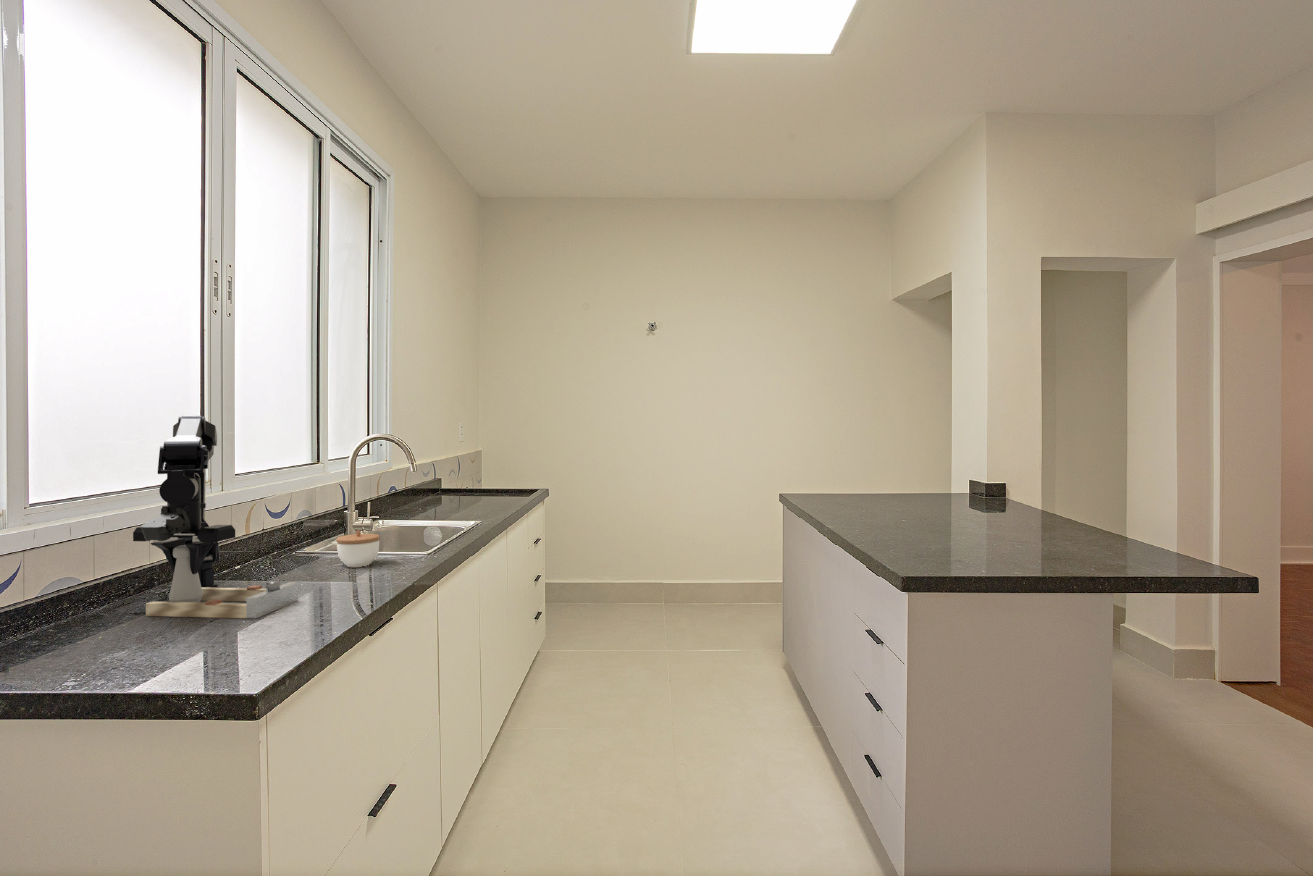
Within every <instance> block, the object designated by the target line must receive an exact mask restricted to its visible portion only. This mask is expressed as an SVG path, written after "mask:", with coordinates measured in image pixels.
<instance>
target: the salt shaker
mask: <svg viewBox="0 0 1313 876" xmlns="http://www.w3.org/2000/svg"><path fill="white" fill-rule="evenodd" d="M173 557H174V558H177V560H176V565H175V570H174V573H173V576H172V581H171V586H170V590H169V594H168V599H169V602H202V601H201V598H202V596H203V592H202V588H201V583H200V579H199V574H198V572H197V574H192V572H191V568H190V550H189V549H188V548H187V547H186V545H181V546H177V547H175V548H174V549H173Z"/></svg>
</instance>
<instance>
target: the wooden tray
mask: <svg viewBox="0 0 1313 876" xmlns="http://www.w3.org/2000/svg"><path fill="white" fill-rule="evenodd" d="M265 583H266V585H265V586H266V588H263V585H258V584H257V585H256V584H254V585H250V586H247V587H212V588H211V587H201V588H202V592H203V596H202V598H201V601H200V602H170V601H149V602H146V603H145V617H179V618H180V617H182V618H183V617H184V618H186V617H187V618H221V619H222V618H224V619H226V618H230V619H231V618H232V619H257V618H260V617H263V616H265V615H267V614H269V613H272V612H274V611H277V610H279V609H281V608H284V607H287V606H289V605H292V604H293V603H295V602H296V603H297V602H298V601H299V582H297V581H289V582H286V583H283V584H281V582H280V580H270V581H267V582H265ZM202 601H205V602H202ZM240 602H241V603H240ZM242 602H245V603H242Z"/></svg>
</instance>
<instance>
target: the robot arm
mask: <svg viewBox="0 0 1313 876" xmlns="http://www.w3.org/2000/svg"><path fill="white" fill-rule="evenodd" d="M217 446H218V433H217V428H216V425H215V424H212V423H211V422H210V421H208V420H206V417H205V416H202V415H181V416H178V419H177V422H176V423H175V424H174V425H173V427H172V437H167V438H166V439H165V440H164V442H163V445H161V446H159V453H158V463H157V474H158V475H166V479H164V481H163V482H161V485H160V487H159V491H158V492H159V496H160V498H161V499H162V500H163V501H164V502H166V503H167V504H166V505H162V506H161V508H160V514H159V515H158V516H155V517H153V518H152V519H150V520H148V521H146V522H144V523H142V524H141V525H140V526H138V527H136V528H135V529H134V531H133V533H132V542H150V541H153V542H150V545H151V546H154V547H156V548H158V549H160V551H162V552H163V554H164V556H165V557H166V560H167V562H168V564H169V567H170V568H171V570H172V573H173V574H174V570H175V565H176V560H177V558H174V557H173V549H174V548H175V547H177V546H181V545H186V547H187V548H188V549H189V550H190V568H191V572H192V574H197V572H198V574H199V579H200V583H201V587H211V588H216V587H218V586H219V585H218V583H215V580H214V579H215V578H214V577H215V573H214V567H213V563H216V562H220V557H221V556H220V555H221V554H220V553H221V552H220V545H219V542H223V541H226V540H230V539H235V538H236V528H235V527H234V525H232V524H215V525H210V524H208V522H206V519H205V518H206V507H207V506H206V505H207V504H206V473H207V469H208V470H209V461H210V460H211V458H212V457H213V456H214V454H215V453H214V451H215V450H214V449H215V447H217Z"/></svg>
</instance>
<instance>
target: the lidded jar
mask: <svg viewBox="0 0 1313 876" xmlns="http://www.w3.org/2000/svg"><path fill="white" fill-rule="evenodd" d="M380 539H381V538H380V535H379V534H377V533H361V530H356V531H355V533H353V534H348V535H347V534H345V535H342V536H338V537H336V550H337V554H338V557H339V559H340V561H341V562H342V563H343V564H344V565H346V567H348V568H362V566H364V567H367V565H368V566H370V565H369V564H372V563H373V561H375V560H376V558H377V556H378V553H379V550H380Z"/></svg>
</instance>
